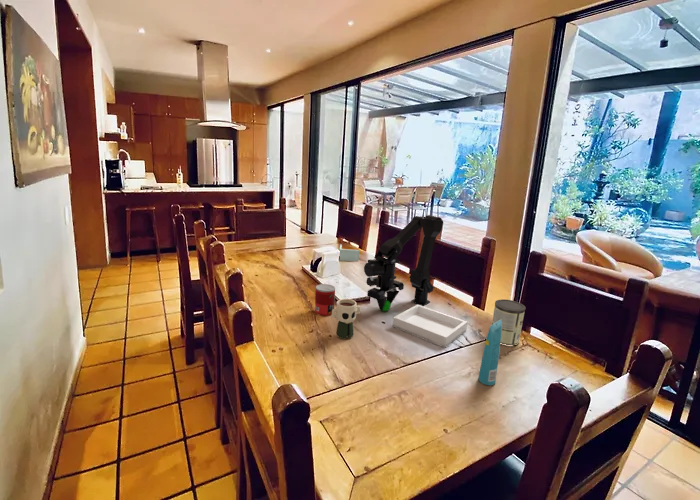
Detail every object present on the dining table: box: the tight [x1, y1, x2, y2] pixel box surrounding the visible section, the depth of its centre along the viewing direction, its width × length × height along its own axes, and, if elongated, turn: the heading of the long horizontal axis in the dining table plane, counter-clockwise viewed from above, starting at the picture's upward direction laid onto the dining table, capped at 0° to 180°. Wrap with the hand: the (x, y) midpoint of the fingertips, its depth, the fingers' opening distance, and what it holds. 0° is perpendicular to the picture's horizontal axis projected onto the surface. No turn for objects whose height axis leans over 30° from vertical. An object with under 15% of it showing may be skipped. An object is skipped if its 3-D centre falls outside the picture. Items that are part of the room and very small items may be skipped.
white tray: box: [392, 304, 468, 349], centre depth 142 cm, size 18×22×4 cm
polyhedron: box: [381, 299, 392, 312], centre depth 156 cm, size 5×5×5 cm
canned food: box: [314, 283, 336, 317], centre depth 151 cm, size 8×8×11 cm
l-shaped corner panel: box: [338, 244, 360, 263], centre depth 230 cm, size 12×12×8 cm
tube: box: [477, 320, 502, 386], centre depth 109 cm, size 7×5×19 cm, turn 140°
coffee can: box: [491, 298, 526, 345], centre depth 136 cm, size 10×10×14 cm
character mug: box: [331, 298, 361, 340], centre depth 132 cm, size 11×7×13 cm, turn 115°
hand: (384, 308), depth 157 cm, fingers closed on polyhedron, 5 cm apart
